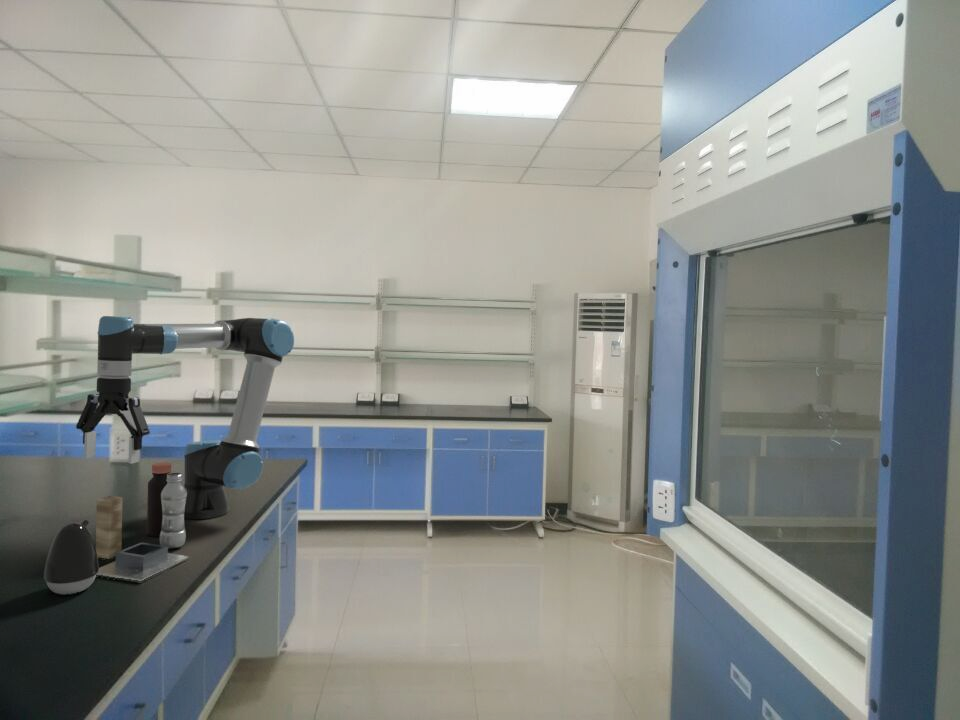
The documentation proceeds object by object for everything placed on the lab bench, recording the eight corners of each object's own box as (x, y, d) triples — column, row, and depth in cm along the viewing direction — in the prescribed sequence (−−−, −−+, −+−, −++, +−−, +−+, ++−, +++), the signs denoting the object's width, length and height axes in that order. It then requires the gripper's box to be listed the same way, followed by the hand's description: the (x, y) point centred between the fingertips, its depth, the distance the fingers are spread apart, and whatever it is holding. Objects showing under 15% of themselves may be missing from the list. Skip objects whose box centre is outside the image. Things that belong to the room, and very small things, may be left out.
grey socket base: (143, 552, 162) (143, 535, 162) (188, 560, 159) (189, 542, 159) (91, 575, 147) (91, 556, 147) (140, 583, 143) (141, 564, 143)
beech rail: (108, 552, 161) (109, 495, 161) (121, 554, 160) (122, 497, 160) (95, 557, 157) (96, 499, 157) (108, 560, 156) (109, 501, 156)
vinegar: (169, 536, 175) (171, 467, 174) (143, 537, 174) (144, 466, 173) (176, 529, 182) (177, 461, 181) (151, 529, 180) (152, 461, 179)
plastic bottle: (178, 541, 172) (180, 470, 171) (190, 547, 168) (192, 474, 167) (154, 546, 167) (156, 473, 166) (165, 553, 163) (167, 478, 162)
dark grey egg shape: (108, 581, 144) (109, 516, 144) (80, 600, 134) (82, 531, 133) (63, 579, 144) (64, 515, 143) (32, 598, 134) (33, 529, 133)
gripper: (61, 374, 156) (58, 457, 157) (144, 381, 150) (141, 467, 151) (86, 373, 164) (84, 452, 164) (166, 379, 158) (163, 462, 159)
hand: (111, 460), depth 158 cm, fingers open, 13 cm apart
